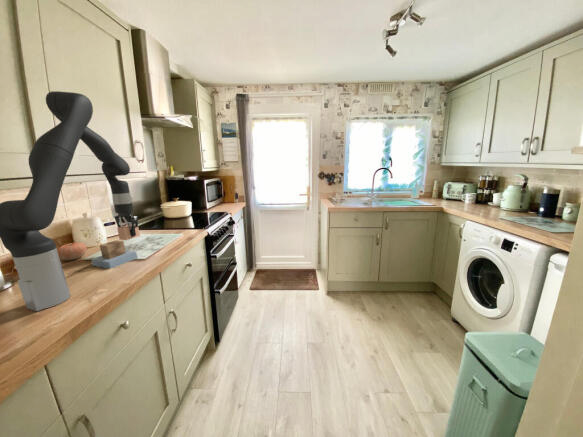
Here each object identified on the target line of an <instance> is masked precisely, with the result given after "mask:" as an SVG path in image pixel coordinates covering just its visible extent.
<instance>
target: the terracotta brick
mask: <svg viewBox="0 0 583 437" xmlns="http://www.w3.org/2000/svg"><path fill="white" fill-rule="evenodd" d="M116 230H117V233H118V239H119V241H129V240H131V239H134V238H138V237H140V236H141V234H140V233H141V232H140V230H139V226H138V227H136V228H135V232H136V236H133V237H131V234H130V229H129V227H128V225H127V226H123V227H118V226H117V229H116Z"/></svg>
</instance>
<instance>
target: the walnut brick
mask: <svg viewBox="0 0 583 437" xmlns="http://www.w3.org/2000/svg"><path fill="white" fill-rule="evenodd" d="M99 248H100V253H101V256H102V257H103V258H106V259H112V258H114V257H117V256H120V255H123V254H125V253H126V251H127V250H126V247H125V242H124V240H118V239H117V240H112V241H109V242H106V243H102V244H99Z"/></svg>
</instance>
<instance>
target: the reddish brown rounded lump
mask: <svg viewBox="0 0 583 437" xmlns="http://www.w3.org/2000/svg"><path fill="white" fill-rule="evenodd" d="M87 249H88V248H87V246H86V245H85V244H84V243H81V242H71V243H70V242H69V243H66V244H63V245H60V246H59V247H58V248H57V251H58V255H59V258H60V260H63V261H74V260H77V259H80V258H82V257H83V256H84V255H85V254H86V253H87V251H88V250H87Z"/></svg>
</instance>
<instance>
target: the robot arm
mask: <svg viewBox="0 0 583 437" xmlns="http://www.w3.org/2000/svg"><path fill="white" fill-rule="evenodd" d="M45 102H46V103H45V104H46V106H47V108H48V110H49V111H50V112H51V114H52V115H53V116H55V118H56V119H57V120H59V121H60V122H59V123H58V124H57V125H56V126H54V127H52V128H51V129H49V130H47V131H46V132H44V133H43V134H42V135H40V137H38V138H37V140H36V141H35V142H34V144H33V146H32V148H31V150H30V153H29V155H28V167H29V170H30V173H31V176H32V182H31V183H32V184H31V186H30V189H29V191H28V193H27V195H26V197H25V198H24V199H17V200H13V199H12V200H6V201H3V202H0V240H1V243H2V245H3V246H4V248H5V249H6V250H7V251H9V252H10V254H11V256H12V260H13V262H14V266H15V268H16V271H17V275H18V276H19V278H18V279H17V285H18V287H19V290H20V293H21V296H22V298H23V301H24V305H25V307H26V309H29V310H31V311H33V312H34V311H35V312H39V311H42V310H45V309H48V308H51V307H54V306H55V307H56V306H57V305H60V304H62V303H63V302H65V301H67V300H69V298H70V297H71V293H70V289H69V286H68V282H67V279H66V275H65V272H64V269H63V265H62V263H61V259H60V258H59V255H58V251H57V249H58V248H57V245H56V242H55V240H54V239H52V238H50V237H47V236H46V235H44V234H42V233H41V231H42V230H45V229H46V228H48V227H49V226H50V225H51V224H52V222H53V221H54V219H55V215H56V213H57V208H58V204H59V200H60V199H59V198H60V194H61V190H62V188H63V185H64V182H65V178H66V176H67V173H68V170H69V169H70V166H71V164H72V160H73V158H74V155H75V152H76V149H77V147H78V145H79V142H80V140H81V141H82V143H84V144H85V145H86V146H87V148H89V150H90V151H91V152H92V154H93V155H94V156H95V157H96V158H97V161H100V162H102V164H101V171H102V172H103V174H104V176H105V178H106V180H107V182H108V184H109V186H110V190H111V194H112V195H111V196H112V199H111V200H112V203H113V207H114V212H115V213H116V214H118V215H114V216H113V217H114V220H115V222H116V225H117V228H118V227H123V226H127V225H128V227H129V229H130V234H131V237H133V236H136V232H135V228H136V227H138V228H139V216H138V215H134V214H133V212H134V210H135V209H134V205H133V200H132V196H131V192H130V187H129V183H128V181H125V180H120V179H118V177H117V176H119V177H120V176H123V177H124V176H127V175H129V174H130V171H131V168H130V167H131V166H130V165H129V163H128V162H127V161H126V160H125V159H124V158H122V157H121V156H120V155H119V154H118V153H116V152H115V151H114V149H113V148H112V146H111V145H110V144H109V142H108V141H107V140H106V139H105V138H103V137H102V136H101V135H100V134H98V133H97V132H96V131H94V130H92V129H91V128H89V123H90V121H91V119H92V117H93V113H94V107H93V104H92V101H91V99H90V98H89V97H87V95H85V94H82V93H78V92H70V91H57V90H55V91H53V90H52V91H49V92H47V94H46V96H45Z"/></svg>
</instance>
